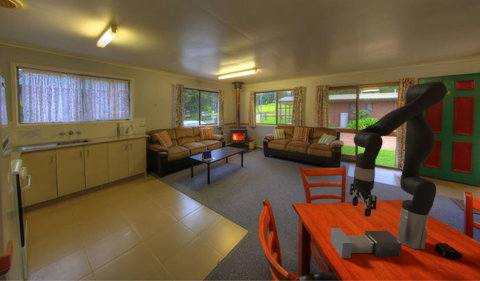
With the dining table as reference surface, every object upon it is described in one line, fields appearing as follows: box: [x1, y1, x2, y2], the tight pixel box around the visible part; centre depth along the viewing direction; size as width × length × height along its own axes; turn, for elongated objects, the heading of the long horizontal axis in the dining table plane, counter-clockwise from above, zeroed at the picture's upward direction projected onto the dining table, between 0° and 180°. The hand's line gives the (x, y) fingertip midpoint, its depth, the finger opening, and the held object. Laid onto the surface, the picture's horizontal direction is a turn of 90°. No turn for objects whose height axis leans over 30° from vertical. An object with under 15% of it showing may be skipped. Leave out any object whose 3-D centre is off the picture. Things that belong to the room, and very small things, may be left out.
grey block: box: [330, 227, 352, 259], centre depth 82 cm, size 4×10×7 cm, turn 178°
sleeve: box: [364, 230, 403, 258], centre depth 82 cm, size 10×8×7 cm
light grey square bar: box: [345, 234, 375, 254], centre depth 82 cm, size 17×6×6 cm, turn 89°
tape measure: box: [434, 242, 463, 260], centre depth 79 cm, size 7×7×4 cm
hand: (360, 210), depth 81 cm, fingers open, 8 cm apart
